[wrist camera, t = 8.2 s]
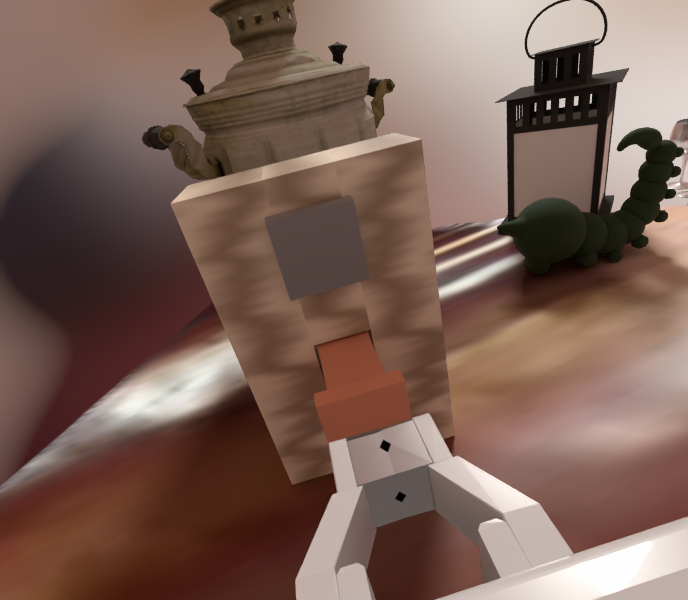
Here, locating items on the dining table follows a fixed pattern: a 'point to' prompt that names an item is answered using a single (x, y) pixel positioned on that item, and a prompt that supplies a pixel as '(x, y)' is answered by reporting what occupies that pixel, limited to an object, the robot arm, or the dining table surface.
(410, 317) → the block
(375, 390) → the terracotta plug
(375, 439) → the robot arm
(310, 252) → the charcoal plug
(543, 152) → the lantern
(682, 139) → the goblet set
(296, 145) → the samovar
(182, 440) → the dining table surface
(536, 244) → the toy figurine
